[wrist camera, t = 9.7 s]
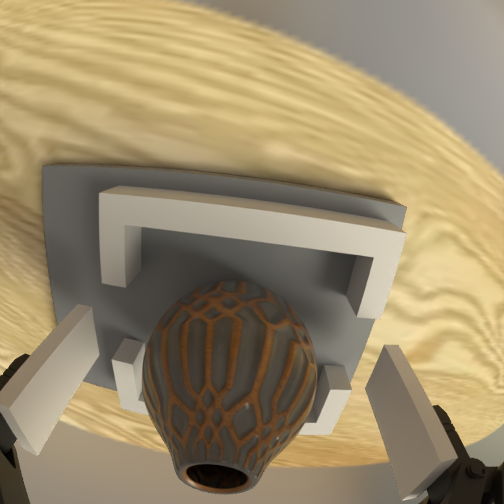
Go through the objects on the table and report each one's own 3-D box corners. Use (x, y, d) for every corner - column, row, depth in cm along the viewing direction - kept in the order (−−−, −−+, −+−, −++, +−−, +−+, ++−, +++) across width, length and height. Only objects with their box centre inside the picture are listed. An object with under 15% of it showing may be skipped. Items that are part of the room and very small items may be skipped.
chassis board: (78, 367, 19) (59, 395, 16) (55, 163, 14) (18, 171, 11) (330, 406, 19) (338, 441, 16) (396, 202, 14) (426, 217, 11)
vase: (151, 271, 14) (58, 401, 6) (295, 246, 14) (337, 390, 6) (191, 379, 17) (157, 512, 8) (311, 364, 16) (336, 507, 8)
